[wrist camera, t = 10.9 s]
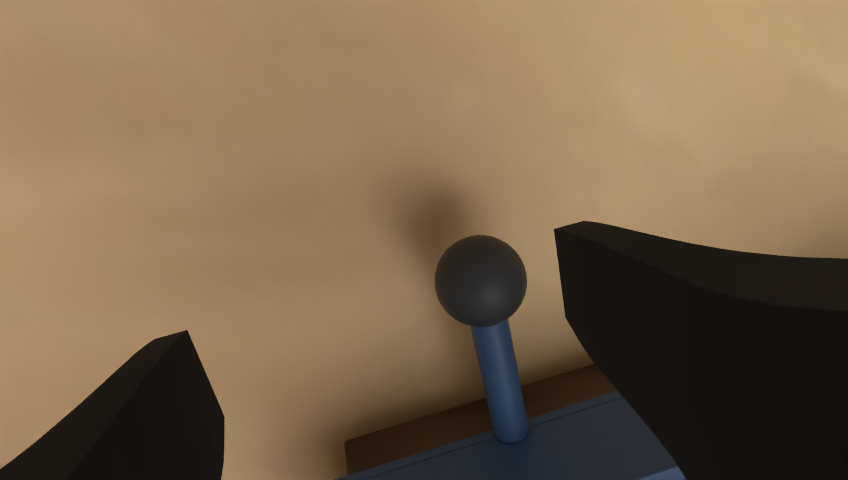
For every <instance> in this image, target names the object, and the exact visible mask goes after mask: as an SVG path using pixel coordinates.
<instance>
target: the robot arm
mask: <svg viewBox="0 0 848 480" xmlns="http://www.w3.org/2000/svg"><path fill="white" fill-rule="evenodd" d="M554 233H555V241H556V248H557V256H558V263H559V271H560V279H561V286H562V294H563V301H564V309H565V316H566V319H567V321H568V323H569V324H570V326H571V328H572V329H573V331H574V333H575V335H576V336H577V338H578V340H579V341H580V343H581V344H582V346H583V347H584V349H585V351H586V352H587V354H588V355H589V357H590V358H591V359H592V360H593V362H594V363H595V364H596V365H597V366H598V368H599V369H600V370H601V371H602V373H603V374H604V375H605V376H606V377H607V379H608V380H609V381H610V382H611V383H612V385H613V386H614V387H615V388H616V389H617V391H618V392H619V393H620V394H621V395H622V396H623V398H624V399H625V400H626V401H627V402H628V404H629V405H630V406H631V407H632V408H633V409H634V411H635V412H636V413H637V414H638V415H639V417H640V418H641V419H642V420H643V421H644V423H645V424H646V425H647V426H648V427H649V428H650V430H651V431H652V432H653V433H654V434H655V436H656V437H657V438H658V440H659V441H660V442H661V444H662V445H663V446H664V447H665V449H666V450H667V451H668V453H669V454H670V455H671V457H672V458H673V460H674V461H675V463H676V464H677V466H678V467H679V469H680V470H681V472H682V473H683V475H684V476H685V478H686V479H687V480H848V259H839V258H807V257H790V256H777V255H768V254H758V253H749V252H740V251H733V250H726V249H719V248H714V247H708V246H703V245H697V244H691V243H687V242H682V241H677V240H672V239H668V238H663V237H659V236H654V235H650V234H646V233H642V232H637V231H633V230H629V229H625V228H620V227H616V226H612V225H607V224H602V223H597V222H589V221H582V222H578V223H574V224H571V225H567V226H564V227H560V228H556V229H554ZM223 461H224V415H223V412H222V410H221V408H220V405H219V403H218V401H217V398H216V396H215V394H214V391H213V389H212V387H211V384H210V382H209V380H208V377H207V375H206V373H205V370H204V368H203V366H202V363H201V361H200V359H199V356H198V354H197V352H196V349H195V347H194V345H193V342H192V340H191V337H190V335H189V333H188V330H186V331H182V332H179V333H175V334H171V335H168V336H164V337H160V338H157V339H154V340H152V341H151V342H150V343H148V344H147V345H145V346H144V347H143V348H142V349H140V350H139V351H138V352H137V353H136V354H134V355H133V356H132V357H131V358H130V359H129V360H128V361H127V362H125V363H124V364H123V365H122V366H121V367H120V368H119V369H118V370H117V371H116V372H115V373H113V374H112V375H111V376H110V377H109V378H108V379H107V380H106V381H105V382H104V383H103V384H101V385H100V386H99V387H98V388H97V389H96V390H95V391H94V392H93V393H92V394H91V395H89V396H88V397H87V398H86V399H85V400H84V401H83V402H82V403H81V404H80V405H78V406H77V407H76V408H75V409H74V410H73V411H71V412H70V413H69V414H68V415H67V416H65V417H64V418H63V419H62V420H61V421H60V422H58V423H57V424H56V425H55V426H54V427H53V428H51V429H50V430H49V431H48V432H47V433H46V434H44V435H43V436H42V437H41V438H40V439H39V440H37V441H36V442H35V443H34V444H33V445H31V446H30V447H29V448H28V449H26V450H25V451H24V452H22V453H21V454H20V455H19V456H17V457H16V458H15V459H13V460H12V461H11V462H9V463H8V464H7V465H5V466H4V467H3V468H1V469H0V480H221V476H222V469H223Z"/></svg>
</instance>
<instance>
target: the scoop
mask: <svg viewBox="0 0 848 480" xmlns="http://www.w3.org/2000/svg"><path fill="white" fill-rule="evenodd" d="M526 287H527V276H526V271H525V267H524V264H523V262H522V260H521V258H520V257H519V255H518V254H517V252H516V251H515V250H514V249H513V248H512V247H511V246H509V245H508V244H507V243H505V242H504V241H502V240H500V239H497V238H495V237H491V236H485V235H476V236H470V237H466V238H464V239H461V240H459V241H457V242H456V243H454V244H453V245H452V246H451V247H449V248H448V249H447V250H446V251H445V253H444V254H443V255H442V257H441V259H440V261H439V263H438V265H437V269H436V272H435V289H436V293H437V296H438V299H439V301H440V303H441V305H442V306H443V308H444V309H445V311H446V312H447V313H448V314H449V315H450V316H452V317H453V318H454V319H455V320H457V321H459V322H461V323H463V324H466V325H469V326H470V327H471V331H472V336H473V340H474V345H475V349H476V354H477V358H478V363H479V367H480V372H481V376H482V381H483V385H484V390H485V394H486V399H487V403H488V408H489V412H490V417H491V421H492V426H493V430H490V431H487V432H484V433H481V434H478V435H475V436H471V437H468V438H465V439H462V440H459V441H455V442H452V443H449V444H446V445H443V446H440V447H436V448H433V449H430V450H427V451H424V452H421V453H417V454H414V455H411V456H408V457H405V458H401V459H398V460H395V461H392V462H389V463H386V464H382V465H379V466H376V467H373V468H370V469H367V470H363V471H360V472H357V473H354V474H351V475H348V476H344V477H341V478H338V479H335V480H687V479H686V478H685V476H684V475H683V473H682V472H681V470H680V469H679V467H678V466H677V464H676V463H675V461H674V460H673V458H672V457H671V455H670V454H669V453H668V451H667V450H666V449H665V447H664V446H663V445H662V444H661V442H660V441H659V440H658V438H657V437H656V436H655V434H654V433H653V432H652V431H651V430H650V428H649V427H648V426H647V425H646V424H645V423H644V421H643V420H642V419H641V418H640V417H639V415H638V414H637V413H636V412H635V411H634V409H633V408H632V407H631V406H630V405H629V404H628V402H627V401H626V400H625V399H624V398H623V396H622V395H621V394H620V393H619V392H618V391H614V392H611V393H608V394H605V395H602V396H598V397H595V398H592V399H589V400H586V401H582V402H579V403H576V404H573V405H570V406H567V407H563V408H560V409H557V410H554V411H551V412H548V413H544V414H541V415H538V416H535V417H532V418H528V419H527V416H526V411H525V406H524V401H523V395H522V390H521V385H520V380H519V375H518V369H517V364H516V359H515V354H514V348H513V343H512V338H511V333H510V328H509V322H508V318H509V317H510V316H512V315H513V314H514V313H515V312H516V310H517V309H518V308H519V306H520V305H521V303H522V301H523V299H524V296H525V292H526Z"/></svg>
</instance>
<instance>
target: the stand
mask: <svg viewBox="0 0 848 480" xmlns="http://www.w3.org/2000/svg"><path fill="white" fill-rule="evenodd" d="M521 390H522V395H523V401H524V406H525V411H526V416H527V419H528V418H532V417H535V416H538V415H541V414H544V413H548V412H551V411H554V410H557V409H560V408H563V407H567V406H570V405H573V404H576V403H579V402H582V401H586V400H589V399H592V398H595V397H598V396H602V395H605V394H608V393H611V392H614V391H617V389H616V388H615V387H614V386H613V385H612V383H611V382H610V381H609V380H608V379H607V377H606V376H605V375H604V374H603V373H602V371H601V370H600V369H599V368H598V366H597V365H596V364H594V365H591V366H588V367H584V368H581V369H578V370H575V371H572V372H568V373H565V374H562V375H559V376H555V377H552V378H549V379H546V380H543V381H539V382H536V383H533V384H530V385H526V386H523V387H521ZM490 430H493V426H492V421H491V417H490V412H489V408H488V403H487V399H486V398H484V399H481V400H478V401H475V402H472V403H468V404H465V405H462V406H459V407H455V408H452V409H449V410H446V411H442V412H439V413H436V414H433V415H430V416H426V417H423V418H420V419H417V420H413V421H410V422H407V423H404V424H400V425H397V426H394V427H391V428H388V429H384V430H381V431H378V432H375V433H371V434H368V435H365V436H362V437H359V438H355V439H352V440H349V441H346V442H345V443H344V444H345V454H346V464H347V473H348V475H351V474H354V473H357V472H360V471H363V470H367V469H370V468H373V467H376V466H379V465H382V464H386V463H389V462H392V461H395V460H398V459H401V458H405V457H408V456H411V455H414V454H417V453H421V452H424V451H427V450H430V449H433V448H436V447H440V446H443V445H446V444H449V443H452V442H455V441H459V440H462V439H465V438H468V437H471V436H475V435H478V434H481V433H484V432H487V431H490Z"/></svg>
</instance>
